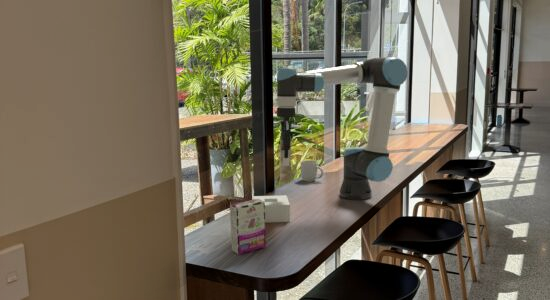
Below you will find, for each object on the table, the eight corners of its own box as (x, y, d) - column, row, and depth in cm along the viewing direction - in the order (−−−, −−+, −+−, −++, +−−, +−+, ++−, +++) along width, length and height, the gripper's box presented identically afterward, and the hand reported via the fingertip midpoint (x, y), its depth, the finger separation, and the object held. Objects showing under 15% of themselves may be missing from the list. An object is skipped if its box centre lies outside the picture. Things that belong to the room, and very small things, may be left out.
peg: (289, 179, 202) (290, 136, 199) (290, 181, 198) (291, 137, 195) (279, 179, 202) (280, 136, 199) (280, 181, 198) (281, 137, 195)
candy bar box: (257, 243, 171) (257, 198, 168) (266, 247, 167) (265, 201, 164) (230, 250, 164) (229, 203, 162) (238, 255, 160) (237, 207, 158)
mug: (297, 181, 261) (297, 163, 260) (304, 177, 269) (304, 160, 268) (320, 183, 256) (320, 165, 254) (326, 180, 264) (326, 162, 262)
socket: (286, 211, 208) (286, 195, 207) (289, 221, 194) (289, 204, 193) (253, 212, 207) (253, 196, 206) (254, 222, 193) (254, 205, 192)
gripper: (275, 105, 203) (274, 160, 207) (278, 108, 186) (277, 168, 190) (293, 105, 204) (292, 160, 208) (298, 108, 187) (296, 168, 191)
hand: (285, 164), depth 199 cm, fingers closed on peg, 4 cm apart
